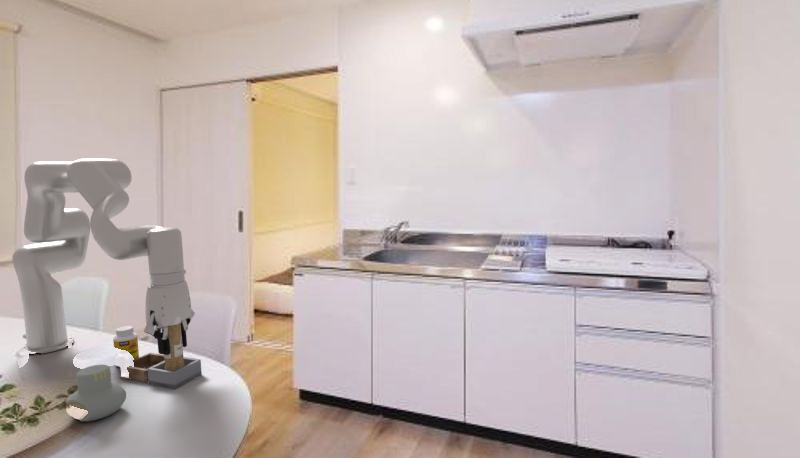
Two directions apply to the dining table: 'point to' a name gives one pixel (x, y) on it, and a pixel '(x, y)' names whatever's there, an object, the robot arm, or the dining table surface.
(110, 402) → the air freshener
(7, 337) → the dining table surface
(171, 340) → the sprinkles bottle
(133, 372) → the brown wooden square frame
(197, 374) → the tray
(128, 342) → the supplement bottle
